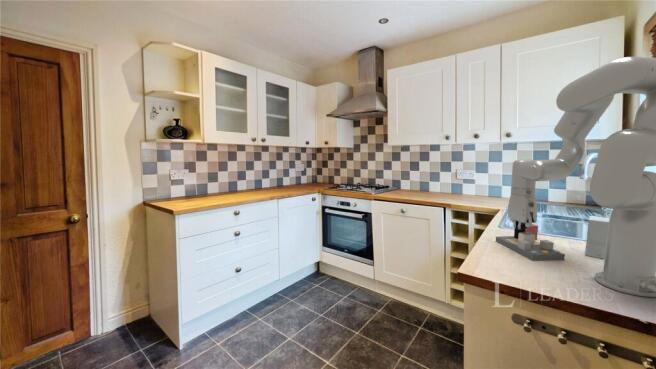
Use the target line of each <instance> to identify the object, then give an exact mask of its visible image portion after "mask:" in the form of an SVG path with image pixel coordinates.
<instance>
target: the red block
mask: <svg viewBox="0 0 656 369" xmlns="http://www.w3.org/2000/svg"><path fill="white" fill-rule="evenodd" d="M538 229H539V226H538V225H537V224H535V223H532V227H527V229H526V230H525V232H531V233H532V234H533V235H535V241H537V240H538V231H539V230H538Z"/></svg>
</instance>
